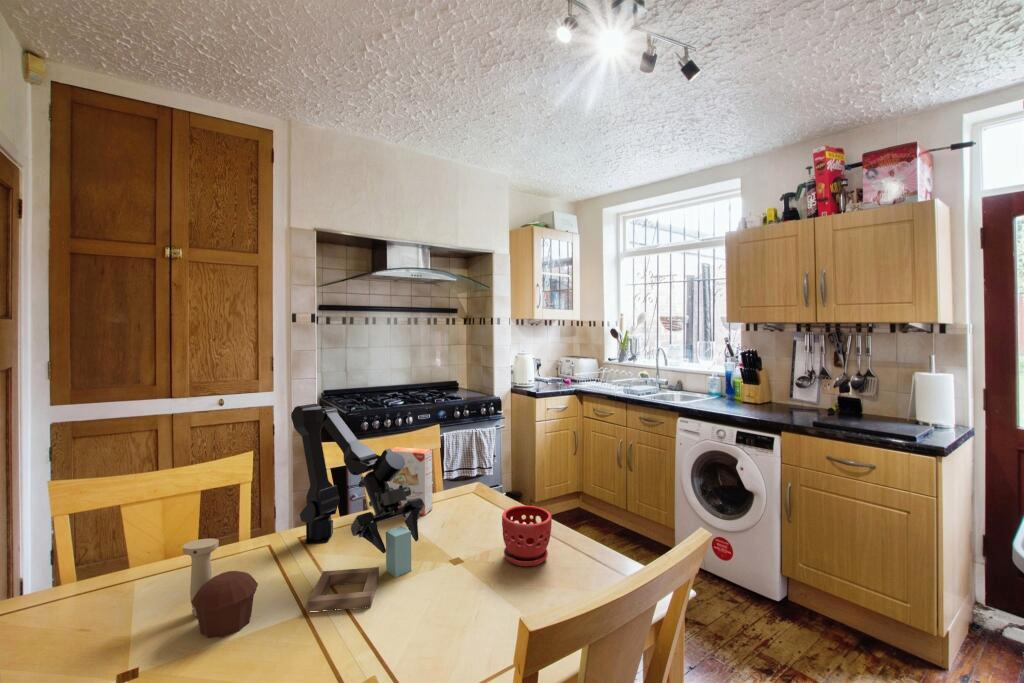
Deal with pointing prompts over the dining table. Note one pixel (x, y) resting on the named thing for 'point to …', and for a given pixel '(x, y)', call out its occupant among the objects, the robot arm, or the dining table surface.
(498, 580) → the dining table surface
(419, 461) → the cracker box
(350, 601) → the socket collar
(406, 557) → the peg
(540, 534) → the plant pot
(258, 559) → the dining table surface
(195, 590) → the handle
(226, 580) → the muffin
